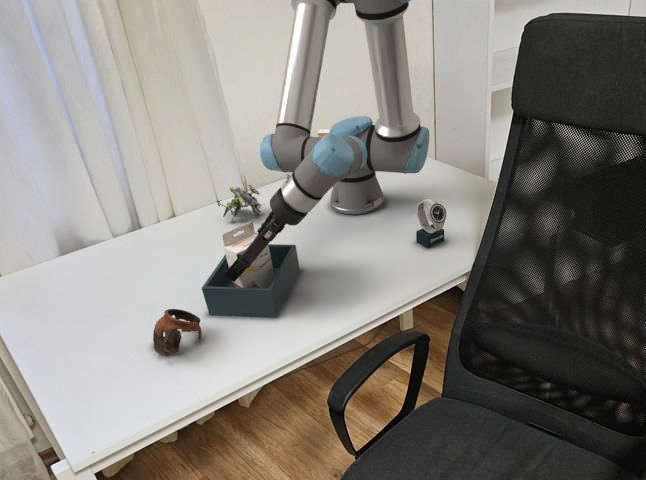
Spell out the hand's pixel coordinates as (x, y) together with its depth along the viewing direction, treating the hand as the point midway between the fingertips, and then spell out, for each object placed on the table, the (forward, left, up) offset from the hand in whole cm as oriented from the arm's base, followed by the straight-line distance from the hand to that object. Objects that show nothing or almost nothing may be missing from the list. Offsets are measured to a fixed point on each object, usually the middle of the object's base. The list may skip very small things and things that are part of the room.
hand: (237, 265), depth 132 cm
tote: (0, +3, -7) cm, 8 cm away
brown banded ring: (+21, -7, -7) cm, 23 cm away
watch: (-25, +41, -7) cm, 49 cm away
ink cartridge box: (0, +3, -6) cm, 7 cm away
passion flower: (-37, -13, -7) cm, 40 cm away
